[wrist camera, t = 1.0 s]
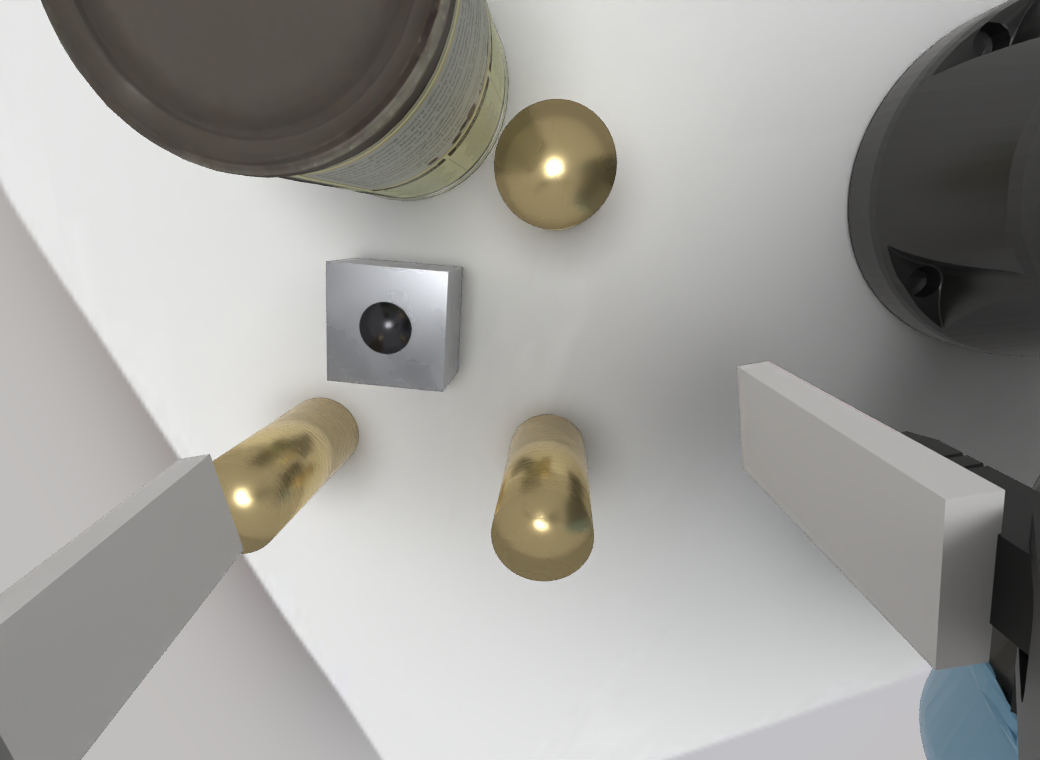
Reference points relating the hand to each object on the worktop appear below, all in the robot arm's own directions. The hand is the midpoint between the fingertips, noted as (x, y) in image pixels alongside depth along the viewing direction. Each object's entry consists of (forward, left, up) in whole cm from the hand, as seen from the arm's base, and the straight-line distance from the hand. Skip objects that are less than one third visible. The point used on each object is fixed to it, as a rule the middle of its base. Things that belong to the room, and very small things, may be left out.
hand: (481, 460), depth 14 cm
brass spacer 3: (-2, +6, -16) cm, 17 cm away
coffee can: (+7, -11, -16) cm, 21 cm away
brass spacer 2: (-1, -8, -16) cm, 17 cm away
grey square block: (+6, -1, -16) cm, 17 cm away
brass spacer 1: (+11, +6, -16) cm, 20 cm away
